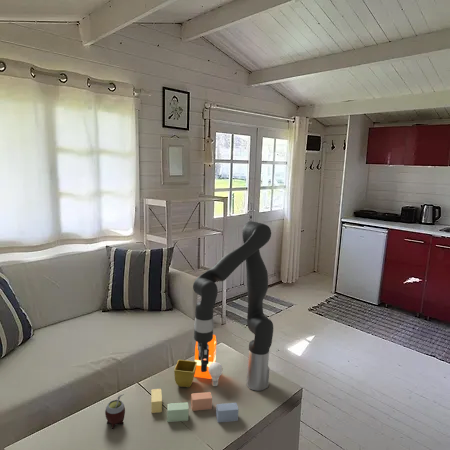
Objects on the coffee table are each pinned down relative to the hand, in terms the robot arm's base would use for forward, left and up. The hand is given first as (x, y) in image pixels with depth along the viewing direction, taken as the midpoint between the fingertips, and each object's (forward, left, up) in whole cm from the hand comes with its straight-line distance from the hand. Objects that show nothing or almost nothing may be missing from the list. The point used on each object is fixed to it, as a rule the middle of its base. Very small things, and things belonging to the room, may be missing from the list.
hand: (202, 365), depth 142 cm
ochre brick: (+18, -3, -18) cm, 26 cm away
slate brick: (-9, +8, -18) cm, 22 cm away
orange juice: (-5, -23, -18) cm, 30 cm away
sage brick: (+10, +5, -18) cm, 21 cm away
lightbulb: (-8, -13, -18) cm, 24 cm away
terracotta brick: (0, 0, -18) cm, 18 cm away
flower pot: (+5, -16, -18) cm, 25 cm away
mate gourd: (+33, +5, -18) cm, 38 cm away
